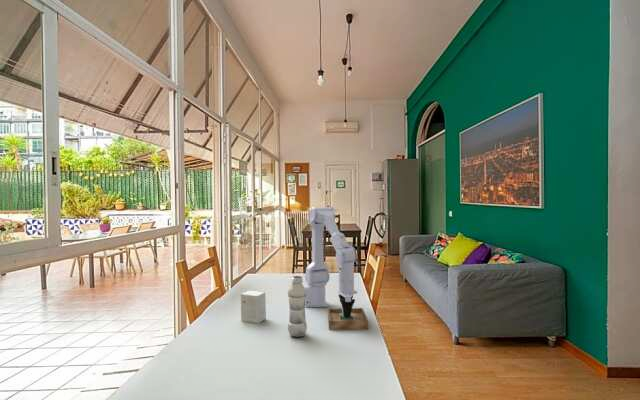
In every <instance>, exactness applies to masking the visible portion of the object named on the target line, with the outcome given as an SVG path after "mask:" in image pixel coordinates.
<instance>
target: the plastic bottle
mask: <svg viewBox="0 0 640 400" xmlns="http://www.w3.org/2000/svg"><path fill="white" fill-rule="evenodd" d="M291 283H292V284H291V285H290V287H289V288H288V291H287V295H288V304H289V319H288V327H287V329H288V333H289V335H290V336H291V337H296V338H300V337H304V336H305V335H306V333H307V331H308V330H307V329H308V327H307V326H308V325H307V321H306V320H307V319H306V307H305V300H306V289H305V285H303V283H304V281H303V276H302V275H301V276H300V275H293V276H292V277H291Z"/></svg>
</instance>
